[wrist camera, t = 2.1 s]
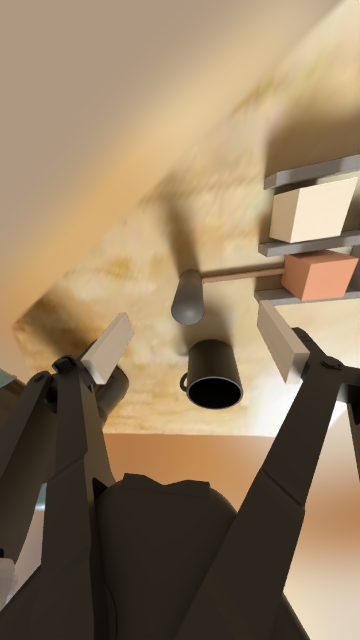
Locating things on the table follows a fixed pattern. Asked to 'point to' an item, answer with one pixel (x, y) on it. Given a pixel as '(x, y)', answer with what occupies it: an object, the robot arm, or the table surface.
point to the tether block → (297, 274)
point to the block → (311, 211)
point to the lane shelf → (356, 286)
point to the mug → (212, 376)
